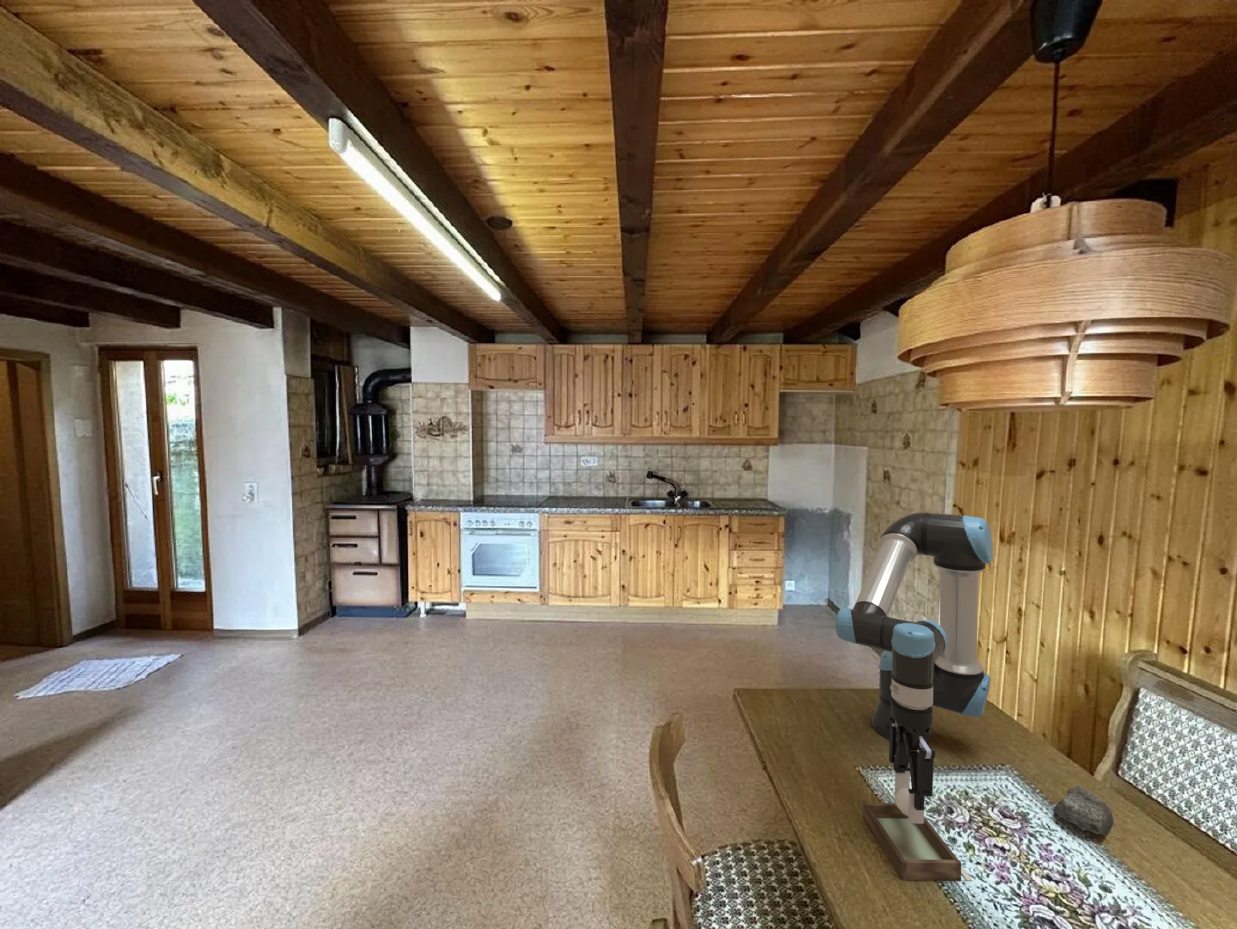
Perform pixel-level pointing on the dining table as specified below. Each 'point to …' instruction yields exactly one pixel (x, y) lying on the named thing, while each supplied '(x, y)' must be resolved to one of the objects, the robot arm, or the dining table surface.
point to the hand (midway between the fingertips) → (908, 812)
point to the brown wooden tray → (911, 845)
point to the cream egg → (903, 800)
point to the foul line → (965, 875)
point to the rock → (1085, 810)
